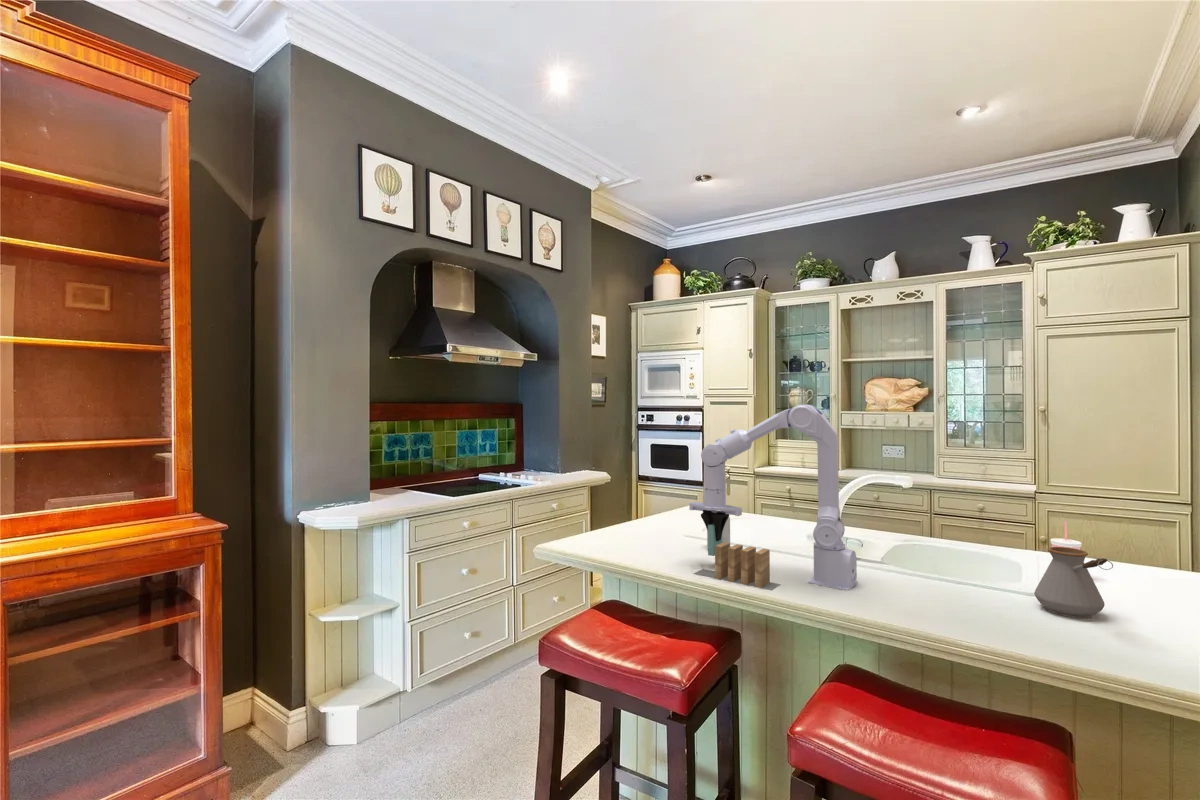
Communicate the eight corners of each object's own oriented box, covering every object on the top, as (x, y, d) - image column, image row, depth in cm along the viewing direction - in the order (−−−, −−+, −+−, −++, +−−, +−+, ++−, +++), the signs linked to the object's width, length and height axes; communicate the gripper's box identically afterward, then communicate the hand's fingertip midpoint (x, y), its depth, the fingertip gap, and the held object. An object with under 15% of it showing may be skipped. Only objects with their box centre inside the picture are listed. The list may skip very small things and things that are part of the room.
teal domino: (722, 552, 155) (722, 522, 155) (713, 556, 151) (713, 525, 151) (717, 551, 156) (716, 521, 156) (708, 555, 152) (707, 524, 152)
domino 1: (730, 574, 146) (729, 543, 146) (720, 579, 142) (720, 546, 142) (724, 573, 147) (724, 542, 147) (715, 577, 143) (715, 545, 143)
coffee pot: (1025, 599, 128) (1025, 532, 128) (1088, 605, 124) (1087, 536, 124) (1069, 636, 108) (1069, 557, 108) (1146, 645, 104) (1145, 562, 104)
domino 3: (756, 579, 142) (756, 547, 142) (747, 584, 138) (747, 551, 138) (750, 578, 143) (749, 546, 143) (741, 583, 139) (741, 550, 139)
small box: (730, 553, 168) (730, 517, 168) (711, 553, 168) (711, 517, 168) (725, 546, 176) (725, 512, 176) (706, 546, 176) (706, 512, 176)
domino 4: (769, 582, 140) (769, 549, 140) (761, 587, 136) (761, 553, 136) (763, 581, 141) (763, 548, 141) (754, 586, 137) (754, 552, 137)
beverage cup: (1072, 581, 141) (1071, 524, 141) (1045, 574, 146) (1044, 519, 146) (1087, 578, 143) (1087, 522, 143) (1060, 572, 149) (1059, 518, 149)
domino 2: (742, 577, 144) (742, 545, 144) (734, 581, 140) (733, 549, 140) (736, 575, 145) (736, 544, 145) (727, 580, 141) (727, 548, 141)
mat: (781, 585, 138) (781, 584, 138) (771, 591, 134) (771, 590, 134) (703, 569, 151) (703, 568, 151) (692, 574, 147) (692, 573, 147)
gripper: (683, 488, 155) (683, 538, 155) (733, 493, 146) (733, 546, 146) (696, 485, 160) (696, 533, 160) (745, 489, 151) (745, 541, 151)
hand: (715, 539), depth 153 cm, fingers closed on teal domino, 1 cm apart
